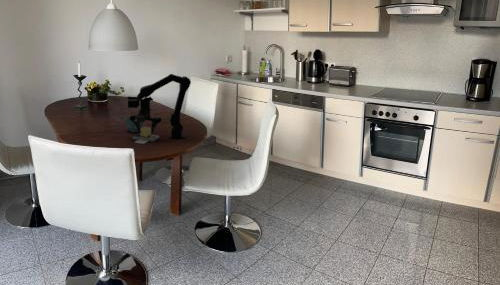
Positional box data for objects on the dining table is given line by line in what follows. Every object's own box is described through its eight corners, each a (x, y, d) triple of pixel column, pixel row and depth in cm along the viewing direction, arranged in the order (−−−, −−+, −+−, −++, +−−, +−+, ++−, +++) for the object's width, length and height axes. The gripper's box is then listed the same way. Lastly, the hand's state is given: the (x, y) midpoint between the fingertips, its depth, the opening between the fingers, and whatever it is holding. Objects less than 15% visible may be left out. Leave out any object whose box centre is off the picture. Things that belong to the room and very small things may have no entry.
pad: (148, 141, 228) (148, 140, 228) (144, 143, 222) (143, 142, 222) (139, 140, 229) (139, 139, 229) (134, 142, 223) (134, 141, 223)
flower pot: (136, 129, 252) (136, 116, 250) (144, 131, 247) (143, 118, 245) (125, 131, 246) (124, 118, 243) (132, 134, 241) (132, 120, 238)
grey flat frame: (159, 138, 235) (159, 135, 235) (153, 141, 228) (153, 138, 227) (138, 135, 238) (138, 133, 237) (132, 138, 230) (132, 136, 230)
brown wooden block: (150, 138, 234) (150, 127, 232) (147, 139, 230) (147, 129, 228) (144, 137, 235) (144, 126, 233) (140, 139, 231) (140, 128, 229)
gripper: (124, 108, 221) (125, 133, 226) (153, 111, 218) (154, 137, 222) (133, 105, 232) (134, 129, 236) (161, 108, 228) (161, 132, 233)
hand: (145, 132), depth 232 cm, fingers open, 9 cm apart
